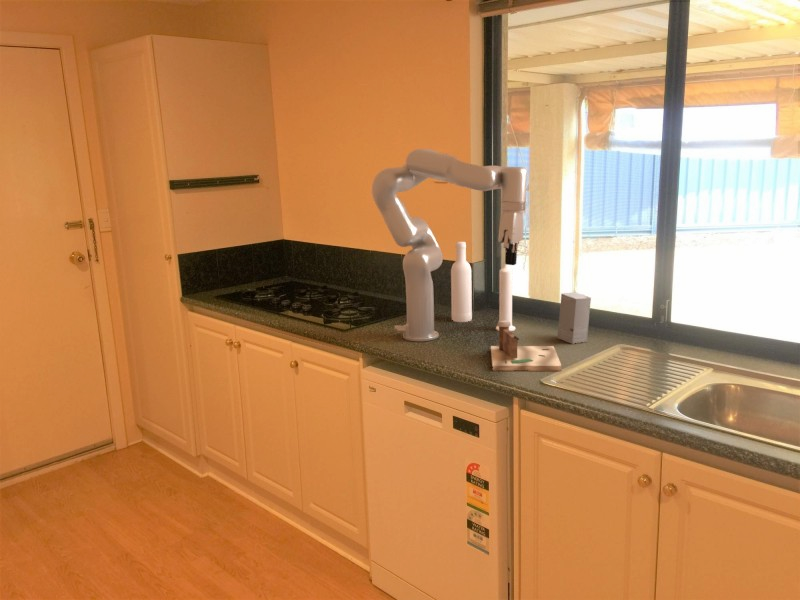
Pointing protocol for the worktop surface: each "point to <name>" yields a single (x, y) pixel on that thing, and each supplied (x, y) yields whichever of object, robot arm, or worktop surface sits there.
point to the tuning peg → (507, 339)
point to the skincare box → (574, 317)
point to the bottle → (461, 286)
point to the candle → (505, 296)
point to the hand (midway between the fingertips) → (510, 264)
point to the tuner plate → (527, 359)
